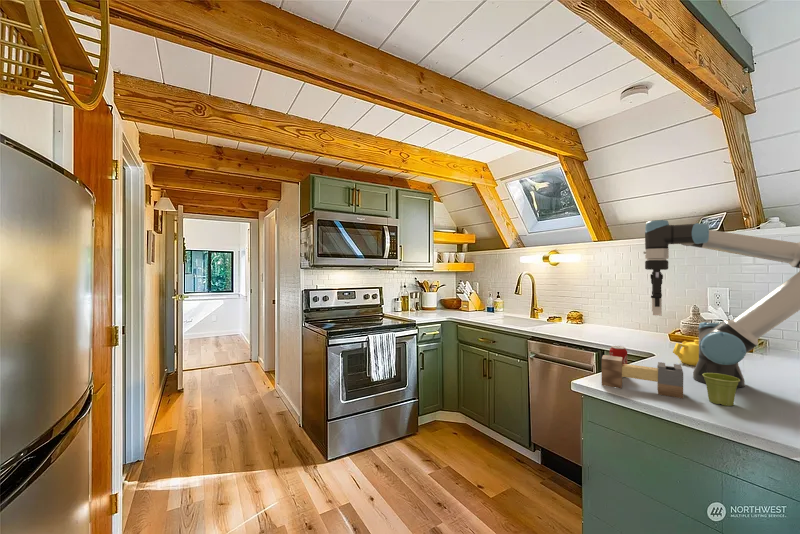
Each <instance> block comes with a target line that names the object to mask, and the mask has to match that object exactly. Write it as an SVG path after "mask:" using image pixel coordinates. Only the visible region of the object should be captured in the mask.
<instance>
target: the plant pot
mask: <svg viewBox="0 0 800 534" xmlns="http://www.w3.org/2000/svg"><path fill="white" fill-rule="evenodd" d="M702 375H703V377H704V379H705V381H706V383H705V385H706V390H707V397H708V400H709V402H710V403H713V404H715V405H720V404H721V405H722V406H727V407H728V406H729V407H732V406H734V404H735V398H736V392H737V385H738V382H740V379H739V378H736V377H733V376H729V375H724V374H718V373H703V374H702Z"/></svg>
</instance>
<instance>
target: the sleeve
mask: <svg viewBox="0 0 800 534" xmlns="http://www.w3.org/2000/svg"><path fill="white" fill-rule="evenodd" d="M656 368H658V382H656V385H657V395H658V396H665V397H671V398H676V399H682V400H683V399H684V370H683V367H682V365H681V364H678V363H673V366H672V365H666V362H661V361H660V362H659V361H658V362H657V366H656Z"/></svg>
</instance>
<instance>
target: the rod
mask: <svg viewBox="0 0 800 534" xmlns="http://www.w3.org/2000/svg"><path fill="white" fill-rule="evenodd" d="M622 377H624V378H628V379H637V380H642V381H643V380H644V381H647V382H648V381H650V382H656V383H657V382H658V368H657V367H654V366H653V367H651V366H643V365H637V364H628V363H627V364H622Z"/></svg>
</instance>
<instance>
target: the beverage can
mask: <svg viewBox="0 0 800 534" xmlns="http://www.w3.org/2000/svg"><path fill="white" fill-rule="evenodd" d="M609 356H617V357H623V362H622V364H628V350H627V348H626V347H625V346H621V345H611V346H610V348H609ZM623 378H625V377H622V379H623Z"/></svg>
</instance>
